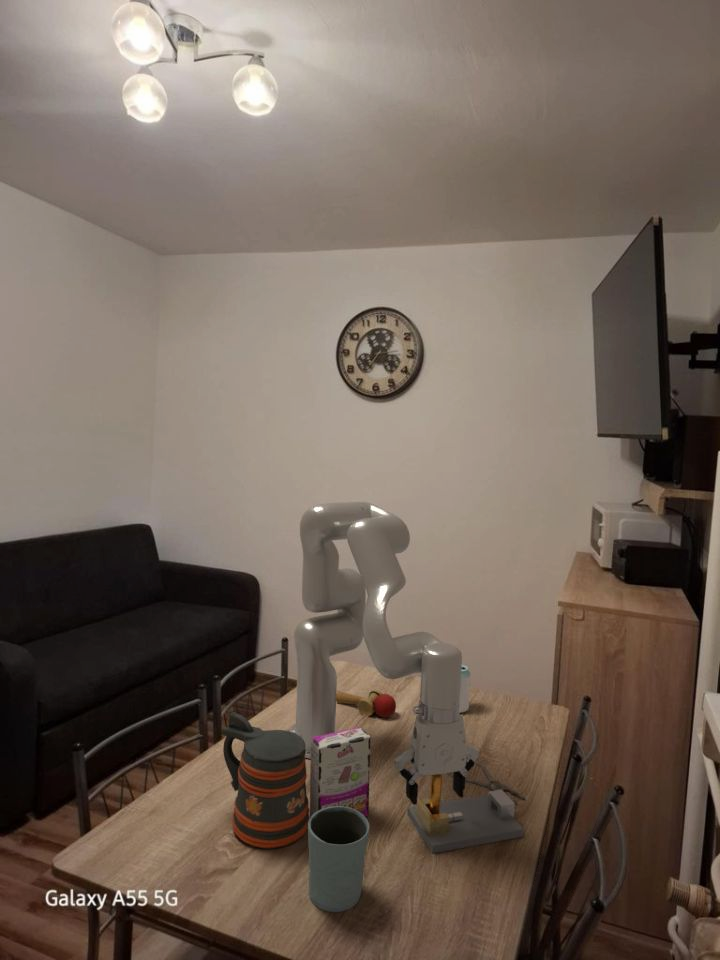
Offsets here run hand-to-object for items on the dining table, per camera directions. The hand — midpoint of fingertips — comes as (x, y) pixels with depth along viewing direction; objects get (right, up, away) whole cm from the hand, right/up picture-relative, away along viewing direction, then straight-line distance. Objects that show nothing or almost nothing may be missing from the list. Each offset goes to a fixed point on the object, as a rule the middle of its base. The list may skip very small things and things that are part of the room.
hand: (435, 796), depth 121 cm
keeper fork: (-1, -5, 0) cm, 5 cm away
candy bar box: (-19, -6, +4) cm, 20 cm away
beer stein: (-34, -6, +1) cm, 34 cm away
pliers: (+14, -6, +20) cm, 25 cm away
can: (+12, -3, +55) cm, 56 cm away
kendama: (-13, -3, +52) cm, 54 cm away
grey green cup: (-18, -8, -17) cm, 26 cm away
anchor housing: (+14, -5, +5) cm, 15 cm away
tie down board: (+6, -7, +2) cm, 9 cm away
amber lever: (+2, -5, +1) cm, 6 cm away
